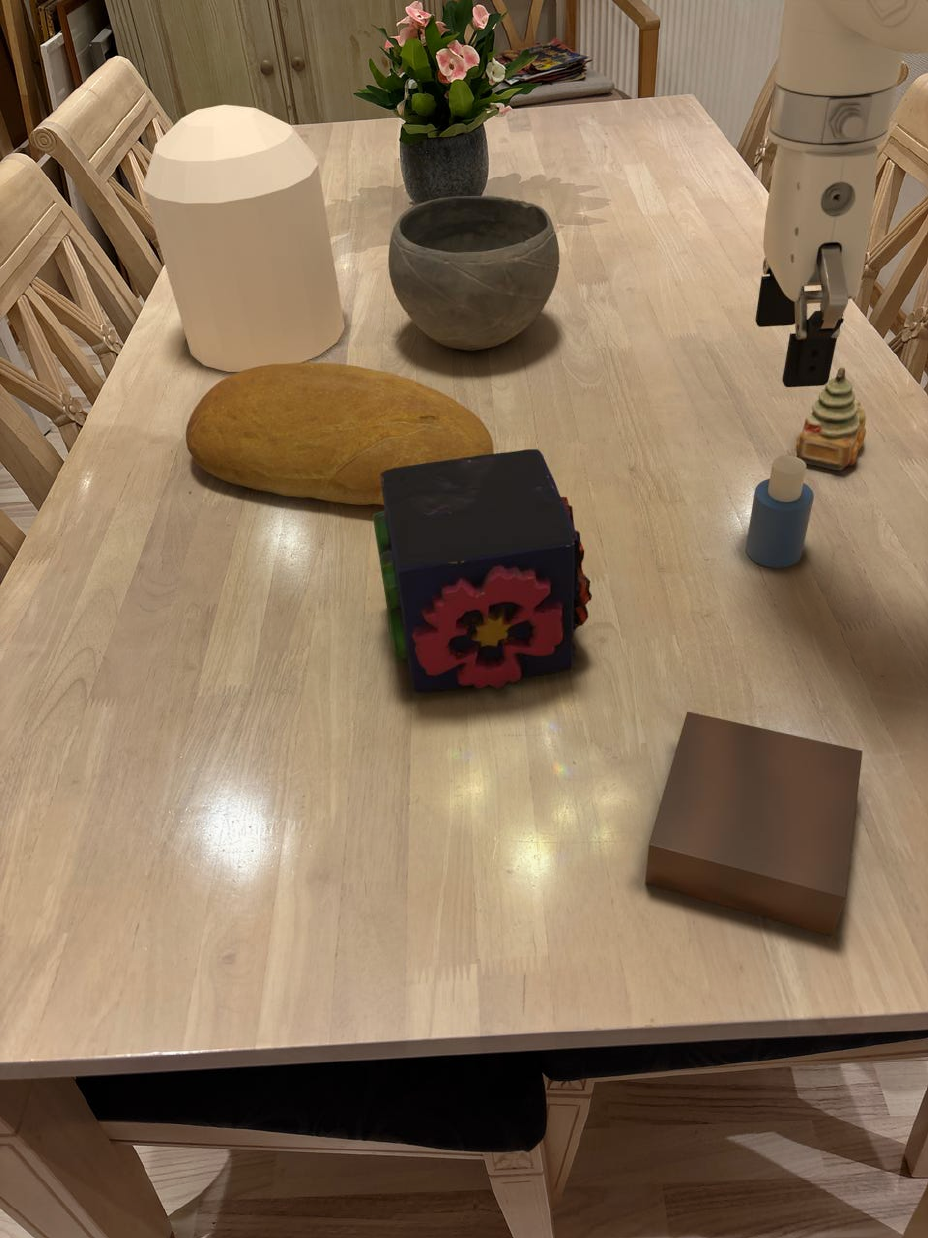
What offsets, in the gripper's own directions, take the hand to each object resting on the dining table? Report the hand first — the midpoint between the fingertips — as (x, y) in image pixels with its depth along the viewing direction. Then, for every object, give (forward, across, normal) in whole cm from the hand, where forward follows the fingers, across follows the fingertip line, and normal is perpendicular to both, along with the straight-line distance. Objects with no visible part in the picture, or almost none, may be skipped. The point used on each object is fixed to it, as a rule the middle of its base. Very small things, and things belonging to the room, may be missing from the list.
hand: (789, 352), depth 75 cm
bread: (+21, +20, +40) cm, 49 cm away
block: (+21, -30, +6) cm, 37 cm away
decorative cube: (+21, -8, +25) cm, 33 cm away
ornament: (+21, +17, -11) cm, 29 cm away
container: (+21, +52, +54) cm, 78 cm away
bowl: (+21, +48, +26) cm, 58 cm away
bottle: (+21, +1, -2) cm, 21 cm away
